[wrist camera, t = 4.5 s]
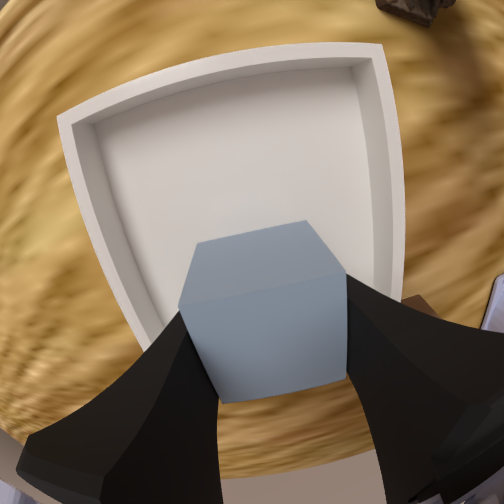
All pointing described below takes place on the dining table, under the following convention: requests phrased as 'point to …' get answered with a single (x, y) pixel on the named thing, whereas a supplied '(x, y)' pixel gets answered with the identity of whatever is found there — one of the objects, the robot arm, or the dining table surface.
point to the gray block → (267, 312)
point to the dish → (239, 166)
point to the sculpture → (414, 9)
